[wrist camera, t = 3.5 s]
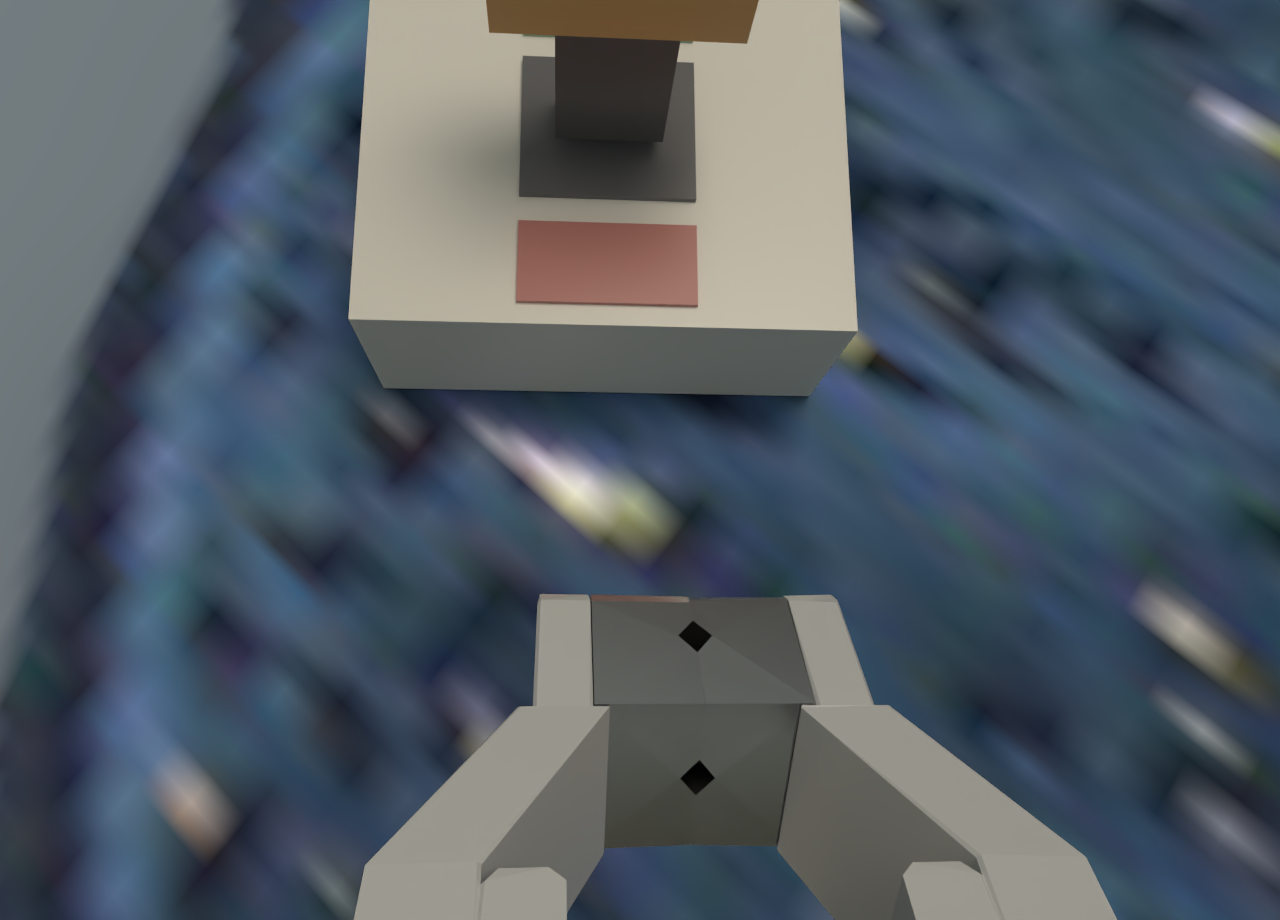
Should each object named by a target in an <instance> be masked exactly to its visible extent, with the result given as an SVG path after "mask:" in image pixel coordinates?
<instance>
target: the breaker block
mask: <svg viewBox="0 0 1280 920" xmlns="http://www.w3.org/2000/svg"><path fill="white" fill-rule="evenodd" d="M348 319H349V321H350V323H351V325H352V327H353V329H354V331H355V333H356V335H357V337H358V339H359V341H360V343H361V345H362V347H363V349H364V351H365V353H366V355H367V357H368V358H369V360H370V362H371V364H372V366H373V368H374V370H375V372H376V374H377V376H378V378H379V380H380V382H381V384H382V386H383V388H401V389H454V390H507V391H560V392H613V393H665V394H718V395H771V396H810V394H811V393H812V392H813V390H814V389H815V388H816V386H817V385H818V384H819V382H820V381H821V380H822V378H823V377H824V376H825V374H826V373H827V372H828V370H829V369H830V368H831V366H832V365H833V364H834V362H835V361H836V360H837V358H838V357H839V356H840V354H841V353H842V352H843V350H844V349H845V348H846V346H847V345H848V343H849V342H850V341H851V339H852V338H853V337H854V335H855V334H856V333H857V331H858V328H857V310H856V293H855V275H854V258H853V240H852V223H851V205H850V188H849V170H848V153H847V135H846V118H845V101H844V83H843V66H842V48H841V31H840V13H839V0H759V2H758V5H757V9H756V13H755V16H754V20H753V24H752V27H751V31H750V35H749V38H748V42H747V44H741V43H718V42H695V41H680V47H679V53H678V58H677V64H676V70H675V75H674V81H673V87H672V92H671V98H670V104H669V110H668V115H667V121H666V127H665V132H664V138H663V142H645V141H617V140H589V139H561V138H556V134H555V36H554V35H531V34H507V33H489V26H488V16H487V6H486V0H370V7H369V22H368V37H367V52H366V66H365V81H364V96H363V111H362V125H361V140H360V155H359V170H358V185H357V199H356V214H355V229H354V244H353V258H352V273H351V288H350V303H349V317H348Z"/></svg>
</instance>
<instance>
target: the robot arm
mask: <svg viewBox="0 0 1280 920" xmlns="http://www.w3.org/2000/svg"><path fill="white" fill-rule="evenodd" d="M690 844H691V845H739V846H778V848H777V851H778V852H779V853H780V854H781V855H782V857H783V858H784V859H785V860H786V861H787V863H788V864H789V865H790V866H791V867H792V869H793V870H794V871H795V872H796V873H797V875H798V876H799V877H800V878H801V879H802V881H803V882H804V883H805V884H806V885H807V887H808V888H809V889H810V890H811V892H812V893H813V894H814V895H815V896H816V898H817V899H818V900H819V901H820V902H821V904H822V905H823V906H824V907H825V908H826V910H827V911H828V912H829V913H830V914H831V916H832V917H833V918H834V919H835V920H1117V918H1116V916H1115V914H1114V912H1113V910H1112V908H1111V906H1110V904H1109V902H1108V900H1107V898H1106V896H1105V894H1104V892H1103V890H1102V888H1101V886H1100V884H1099V882H1098V880H1097V878H1096V876H1095V874H1094V872H1093V870H1092V868H1091V866H1090V864H1089V862H1088V860H1087V858H1086V857H1085V856H1084V855H1083V854H1082V853H1080V852H1079V851H1078V850H1076V849H1075V848H1074V847H1072V846H1071V845H1070V844H1069V843H1067V842H1066V841H1065V840H1063V839H1062V838H1061V837H1059V836H1058V835H1057V834H1056V833H1054V832H1053V831H1052V830H1050V829H1049V828H1048V827H1046V826H1045V825H1044V824H1043V823H1041V822H1040V821H1039V820H1037V819H1036V818H1035V817H1033V816H1032V815H1031V814H1030V813H1028V812H1027V811H1026V810H1024V809H1023V808H1022V807H1020V806H1019V805H1018V804H1017V803H1015V802H1014V801H1013V800H1011V799H1010V798H1009V797H1007V796H1006V795H1005V794H1004V793H1002V792H1001V791H1000V790H998V789H997V788H996V787H994V786H993V785H992V784H991V783H989V782H988V781H987V780H985V779H984V778H983V777H981V776H980V775H979V774H977V773H976V772H975V771H974V770H972V769H971V768H970V767H968V766H967V765H966V764H964V763H963V762H962V761H961V760H959V759H958V758H957V757H955V756H954V755H953V754H951V753H950V752H949V751H948V750H946V749H945V748H944V747H942V746H941V745H940V744H938V743H937V742H936V741H935V740H933V739H932V738H931V737H929V736H928V735H927V734H925V733H924V732H923V731H922V730H920V729H919V728H918V727H916V726H915V725H914V724H912V723H911V722H910V721H909V720H907V719H906V718H905V717H903V716H902V715H901V714H899V713H898V712H897V711H896V710H894V709H893V708H892V707H890V706H889V705H874V703H873V700H872V697H871V694H870V691H869V689H868V686H867V683H866V680H865V677H864V674H863V671H862V669H861V666H860V663H859V660H858V657H857V654H856V651H855V649H854V646H853V643H852V640H851V637H850V634H849V632H848V629H847V626H846V623H845V620H844V617H843V614H842V612H841V609H840V606H839V603H838V600H836V599H835V598H834V597H833V596H832V595H801V596H783V598H780V597H771V598H688V597H669V596H629V595H591V598H589V596H588V595H565V594H540V596H539V600H538V605H537V627H536V650H535V672H534V695H533V706H528V707H517V708H516V709H515V711H514V712H513V713H512V714H511V715H510V716H509V717H508V718H507V719H506V720H505V721H504V722H503V723H502V724H501V725H500V726H499V727H498V728H497V729H496V730H495V731H494V732H493V733H492V734H491V735H490V736H489V737H488V738H487V740H486V741H485V742H484V743H483V744H482V745H481V746H480V747H479V748H478V749H477V750H476V751H475V752H474V753H473V754H472V755H471V756H470V757H469V758H468V759H467V760H466V761H465V762H464V763H463V764H462V765H461V766H460V767H459V769H458V770H457V771H456V772H455V773H454V774H453V775H452V776H451V777H450V778H449V779H448V780H447V781H446V782H445V783H444V784H443V785H442V786H441V787H440V788H439V789H438V790H437V791H436V792H435V793H434V794H433V795H432V796H431V798H430V799H429V800H428V801H427V802H426V803H425V804H424V805H423V806H422V807H421V808H420V809H419V810H418V811H417V812H416V813H415V814H414V815H413V816H412V817H411V818H410V819H409V820H408V821H407V822H406V823H405V824H404V825H403V827H402V828H401V829H400V830H399V831H398V832H397V833H396V834H395V835H394V836H393V837H392V838H391V839H390V840H389V841H388V842H387V843H386V844H385V845H384V846H383V847H382V848H381V849H380V850H379V851H378V852H377V853H376V854H375V856H374V857H373V858H372V859H371V860H370V861H369V862H368V863H367V864H366V865H365V868H364V873H363V878H362V883H361V887H360V892H359V897H358V902H357V907H356V912H355V917H354V920H567V912H568V910H569V909H570V907H571V905H572V904H573V902H574V901H575V899H576V897H577V896H578V894H579V893H580V891H581V889H582V888H583V886H584V885H585V883H586V881H587V880H588V878H589V877H590V875H591V873H592V872H593V870H594V868H595V867H596V865H597V864H598V862H599V860H600V859H601V857H602V856H603V854H604V848H623V847H647V846H672V845H690Z"/></svg>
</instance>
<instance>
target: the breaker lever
mask: <svg viewBox="0 0 1280 920" xmlns="http://www.w3.org/2000/svg"><path fill="white" fill-rule="evenodd" d="M758 2H759V0H486V6H487V16H488V26H489V33H507V34H531V35H554V36H555V134H556V138H561V139H589V140H617V141H645V142H663V138H664V132H665V127H666V121H667V115H668V110H669V104H670V98H671V92H672V87H673V81H674V75H675V70H676V64H677V58H678V53H679V47H680V41H695V42H718V43H741V44H747V42H748V38H749V35H750V31H751V27H752V24H753V20H754V16H755V13H756V9H757V5H758Z"/></svg>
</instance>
